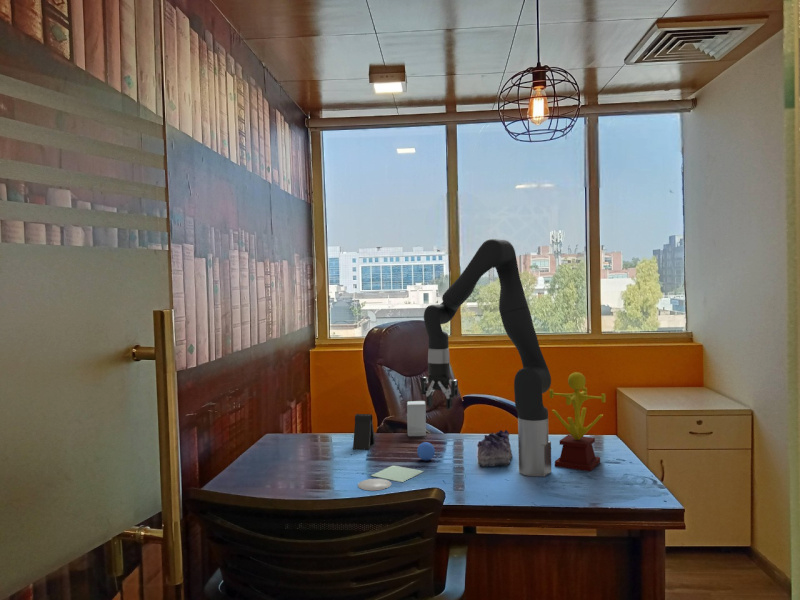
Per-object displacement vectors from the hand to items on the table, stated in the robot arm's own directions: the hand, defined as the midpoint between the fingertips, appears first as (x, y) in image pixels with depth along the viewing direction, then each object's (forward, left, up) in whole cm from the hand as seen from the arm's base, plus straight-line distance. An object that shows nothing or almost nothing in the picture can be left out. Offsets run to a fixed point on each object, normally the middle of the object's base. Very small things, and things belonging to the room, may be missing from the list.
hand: (439, 407), depth 209 cm
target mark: (0, +27, -16) cm, 31 cm away
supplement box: (+22, -18, -16) cm, 33 cm away
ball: (0, +10, -13) cm, 16 cm away
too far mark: (0, +39, -16) cm, 42 cm away
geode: (-20, -2, -16) cm, 26 cm away
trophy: (-45, -11, -16) cm, 49 cm away
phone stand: (+29, +7, -16) cm, 34 cm away
